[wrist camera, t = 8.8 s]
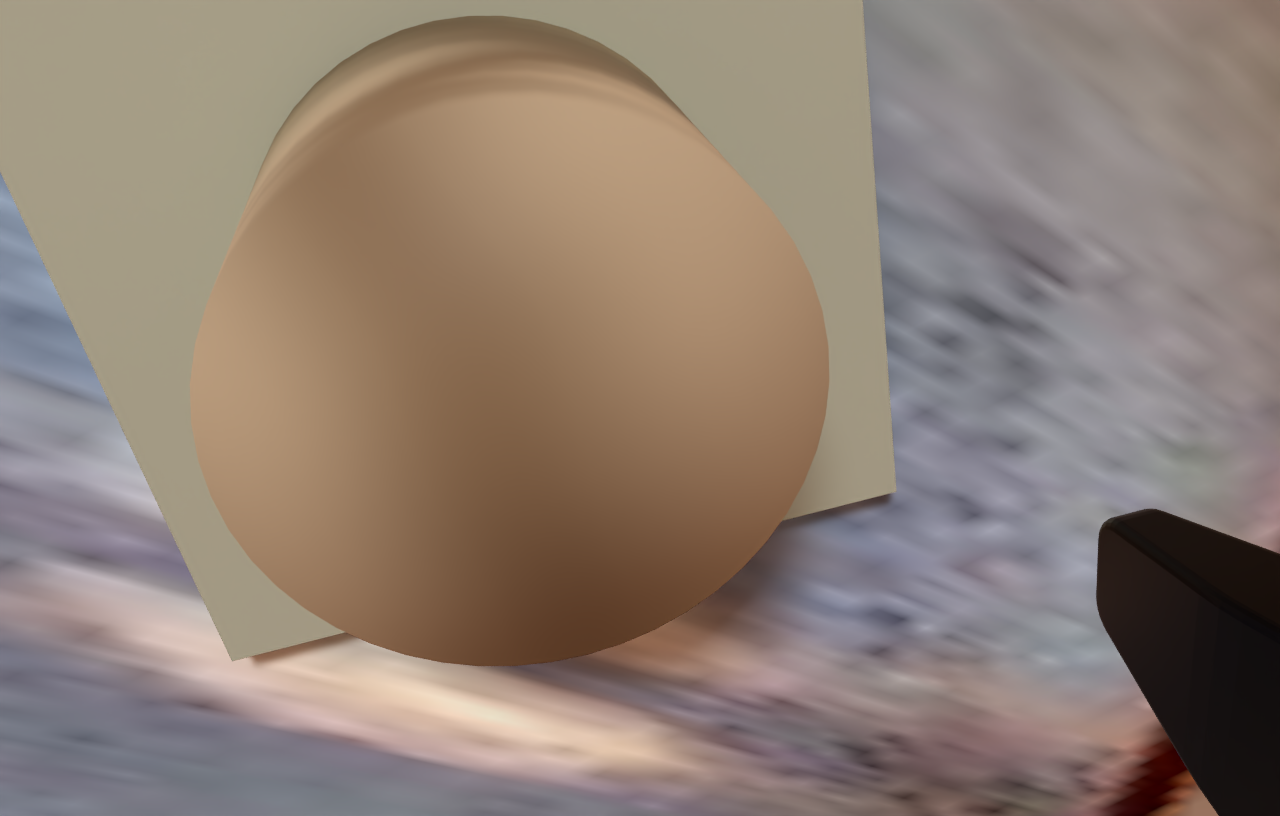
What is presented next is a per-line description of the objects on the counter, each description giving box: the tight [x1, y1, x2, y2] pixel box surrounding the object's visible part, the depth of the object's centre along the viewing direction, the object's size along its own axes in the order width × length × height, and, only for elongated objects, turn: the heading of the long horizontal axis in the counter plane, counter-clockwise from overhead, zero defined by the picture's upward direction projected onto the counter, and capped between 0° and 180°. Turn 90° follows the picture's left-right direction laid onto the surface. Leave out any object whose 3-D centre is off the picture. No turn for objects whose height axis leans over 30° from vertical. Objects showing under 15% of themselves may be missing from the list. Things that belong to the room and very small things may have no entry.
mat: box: [0, 0, 896, 661], centre depth 17 cm, size 12×12×1 cm
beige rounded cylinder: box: [190, 16, 829, 666], centre depth 15 cm, size 7×7×5 cm
